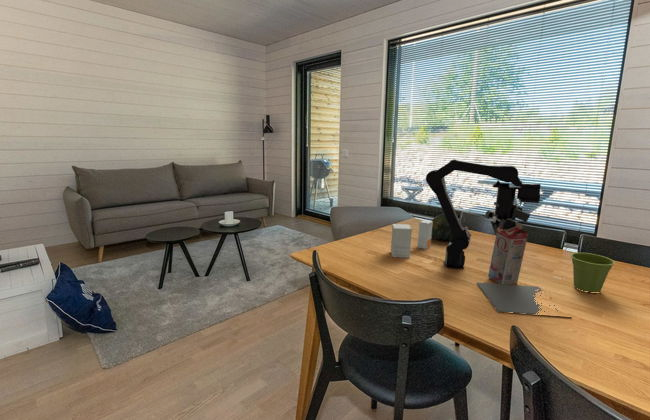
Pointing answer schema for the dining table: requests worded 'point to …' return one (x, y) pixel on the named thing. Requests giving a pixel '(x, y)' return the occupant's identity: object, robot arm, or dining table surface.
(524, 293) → the mat
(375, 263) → the dining table surface
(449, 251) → the robot arm
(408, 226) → the supplement box
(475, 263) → the dining table surface
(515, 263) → the juice carton
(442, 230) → the squash
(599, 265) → the plant pot
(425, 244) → the skincare box
